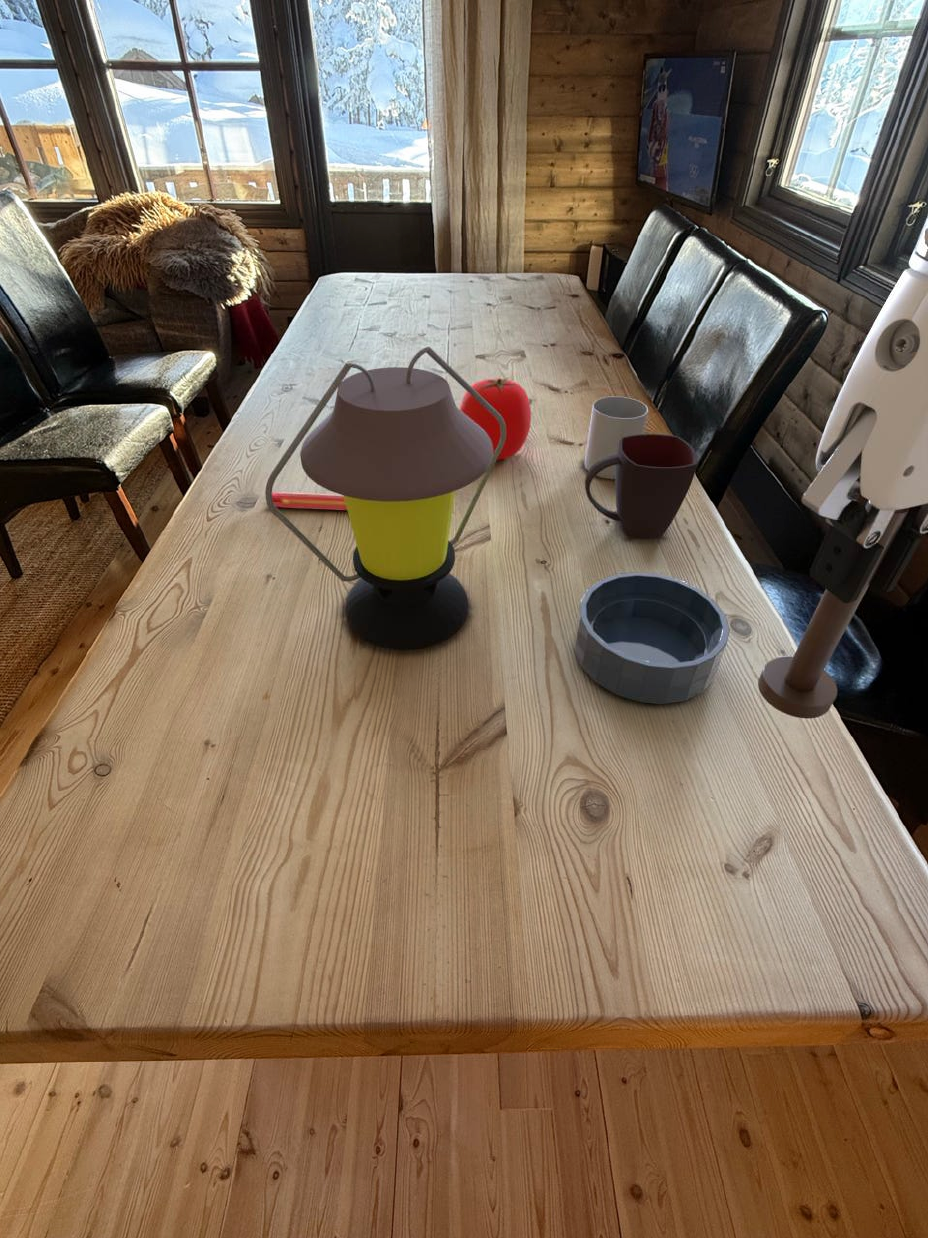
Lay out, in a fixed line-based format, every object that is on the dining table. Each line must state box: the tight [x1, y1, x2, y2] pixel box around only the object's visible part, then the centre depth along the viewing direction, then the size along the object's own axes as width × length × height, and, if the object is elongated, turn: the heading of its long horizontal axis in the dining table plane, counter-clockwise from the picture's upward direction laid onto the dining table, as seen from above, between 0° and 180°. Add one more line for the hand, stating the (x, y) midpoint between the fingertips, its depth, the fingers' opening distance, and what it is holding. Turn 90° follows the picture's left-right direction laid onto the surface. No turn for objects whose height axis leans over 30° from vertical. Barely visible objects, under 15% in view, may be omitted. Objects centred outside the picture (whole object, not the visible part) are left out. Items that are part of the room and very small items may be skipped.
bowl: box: [573, 571, 731, 705], centre depth 72 cm, size 15×15×6 cm
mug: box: [584, 433, 699, 540], centre depth 89 cm, size 10×14×12 cm
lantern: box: [264, 346, 506, 651], centre depth 70 cm, size 25×19×30 cm
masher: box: [757, 499, 909, 719], centre depth 41 cm, size 5×5×15 cm
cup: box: [584, 395, 649, 480], centre depth 104 cm, size 8×8×10 cm
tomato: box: [459, 377, 532, 461], centre depth 106 cm, size 12×12×13 cm
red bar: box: [272, 491, 347, 511], centre depth 96 cm, size 24×2×5 cm
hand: (849, 581), depth 40 cm, fingers closed on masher
